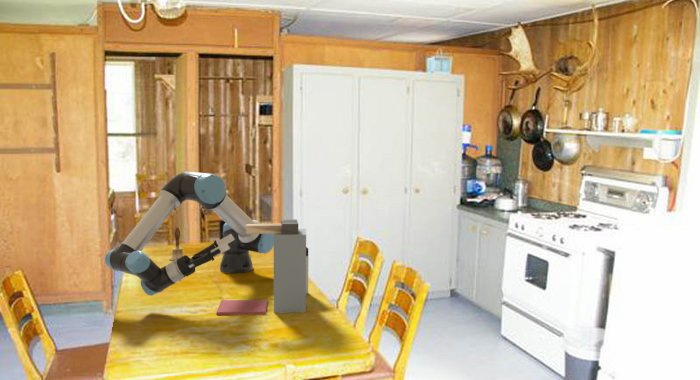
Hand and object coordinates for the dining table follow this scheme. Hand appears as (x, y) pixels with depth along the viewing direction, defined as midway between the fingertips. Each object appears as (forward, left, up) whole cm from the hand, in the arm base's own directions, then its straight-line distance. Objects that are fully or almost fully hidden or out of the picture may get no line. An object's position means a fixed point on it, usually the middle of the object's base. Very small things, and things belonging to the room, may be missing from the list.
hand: (230, 240), depth 215 cm
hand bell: (-71, -35, -27) cm, 83 cm away
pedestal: (0, +22, -27) cm, 35 cm away
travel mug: (-16, +26, -27) cm, 41 cm away
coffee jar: (-86, -11, -27) cm, 91 cm away
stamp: (+1, +16, +3) cm, 16 cm away
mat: (0, +4, -27) cm, 27 cm away
